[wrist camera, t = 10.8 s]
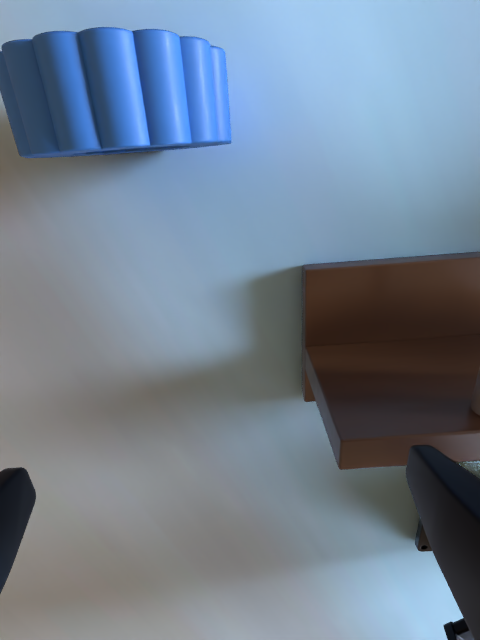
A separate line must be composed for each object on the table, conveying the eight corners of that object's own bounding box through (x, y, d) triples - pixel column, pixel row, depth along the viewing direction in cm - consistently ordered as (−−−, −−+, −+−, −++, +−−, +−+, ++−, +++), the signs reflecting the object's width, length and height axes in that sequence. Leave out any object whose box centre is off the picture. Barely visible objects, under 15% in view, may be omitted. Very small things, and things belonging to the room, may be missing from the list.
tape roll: (247, 143, 15) (202, 140, 9) (95, 156, 17) (-38, 160, 10) (243, 71, 14) (189, 8, 8) (81, 90, 16) (-78, 50, 9)
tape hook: (500, 378, 22) (636, 491, 14) (301, 392, 22) (336, 511, 14) (576, 108, 16) (873, 69, 8) (302, 130, 16) (361, 110, 9)
